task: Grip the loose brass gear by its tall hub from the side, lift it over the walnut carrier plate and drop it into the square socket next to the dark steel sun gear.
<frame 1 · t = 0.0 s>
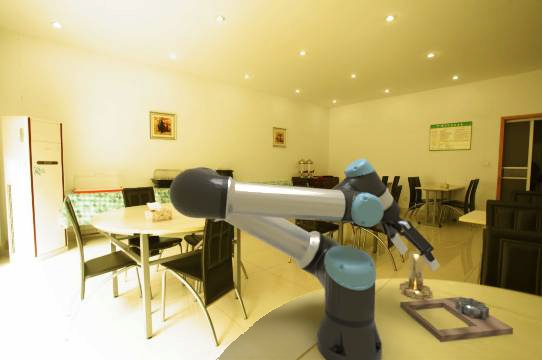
hand: (418, 259, 80), 15 cm above the table, fingers open, 13 cm apart
planet gear: (415, 293, 89), on the table
carrier plate: (451, 319, 74), on the table
sun gear: (471, 317, 75), resting on carrier plate
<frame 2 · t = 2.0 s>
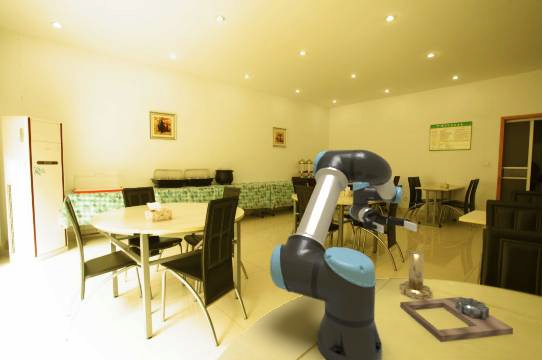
hand: (399, 228, 97), 20 cm above the table, fingers open, 13 cm apart
nothing on the table moved.
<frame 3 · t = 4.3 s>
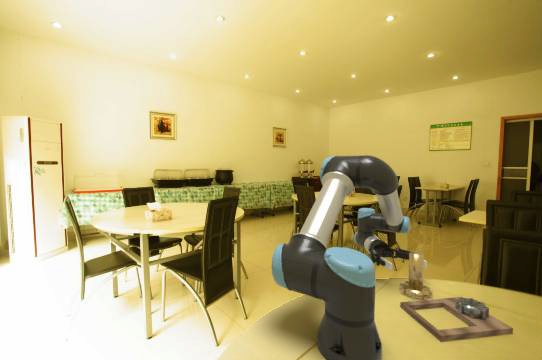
hand: (409, 266, 93), 8 cm above the table, fingers open, 13 cm apart
nothing on the table moved.
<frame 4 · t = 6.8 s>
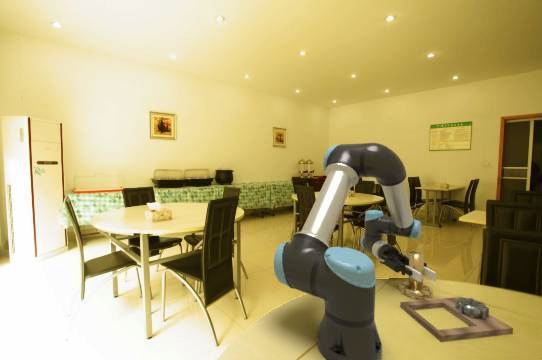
hand: (427, 277, 83), 8 cm above the table, fingers closed on planet gear, 4 cm apart
planet gear: (415, 293, 89), on the table, touching gripper
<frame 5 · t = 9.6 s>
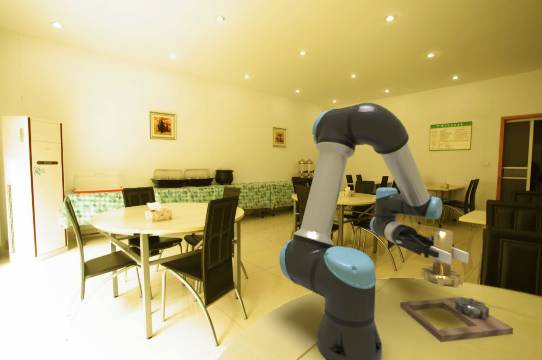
hand: (458, 258, 67), 20 cm above the table, fingers closed on planet gear, 4 cm apart
planet gear: (441, 279, 73), point 12 cm above the table, touching gripper
when the fingers open (10 cm above the table, at t = 12.2 s): planet gear drops 2 cm, resting in carrier plate.
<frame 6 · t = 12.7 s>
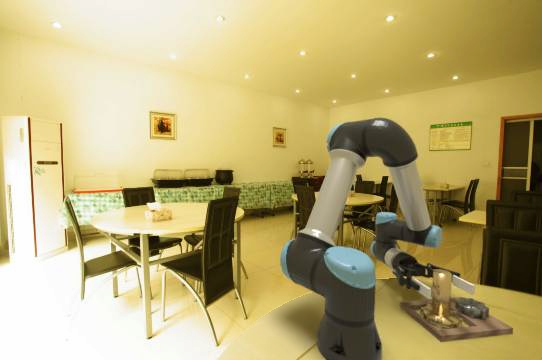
hand: (452, 292, 69), 10 cm above the table, fingers open, 12 cm apart
planet gear: (440, 320, 73), resting in carrier plate
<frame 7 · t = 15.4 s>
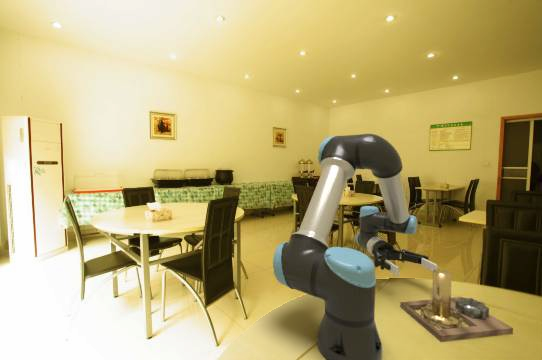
hand: (417, 270, 83), 10 cm above the table, fingers open, 13 cm apart
nothing on the table moved.
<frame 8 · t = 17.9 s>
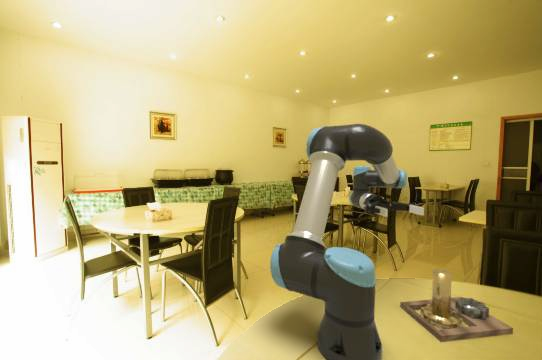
hand: (404, 212, 88), 28 cm above the table, fingers open, 13 cm apart
nothing on the table moved.
at the end: planet gear 0.0 cm from the target spot on the carrier plate, point 0.0 cm above the carrier plate's base; planet gear tilted 0°; the gripper is holding nothing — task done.
